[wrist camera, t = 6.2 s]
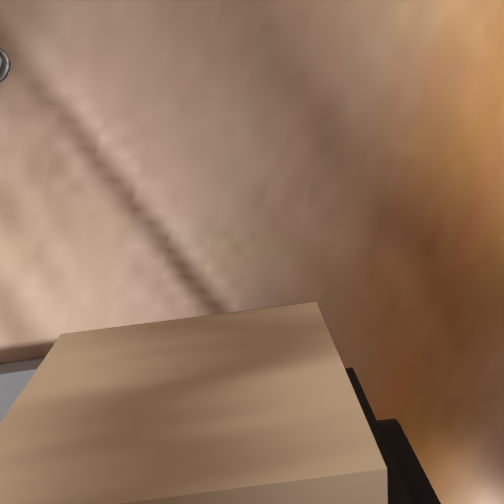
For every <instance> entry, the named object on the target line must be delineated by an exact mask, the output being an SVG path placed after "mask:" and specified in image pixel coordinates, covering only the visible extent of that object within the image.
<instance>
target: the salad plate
mask: <svg viewBox="0 0 504 504" xmlns="http://www.w3.org/2000/svg"><path fill="white" fill-rule="evenodd" d="M9 70H10V59H9V57H8V55H7V54H6V52H5V51H4V50H3V49H2V48H1V47H0V83H1V82H2V81H3V80H4V79H5V78H6V77H7V75H8V72H9Z"/></svg>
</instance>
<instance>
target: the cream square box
mask: <svg viewBox="0 0 504 504" xmlns="http://www.w3.org/2000/svg"><path fill="white" fill-rule="evenodd" d="M0 504H388V489H387V467H386V465H385V462H384V460H383V458H382V455H381V453H380V451H379V448H378V446H377V444H376V441H375V439H374V436H373V434H372V432H371V429H370V427H369V425H368V422H367V420H366V418H365V415H364V413H363V410H362V408H361V406H360V403H359V401H358V399H357V396H356V394H355V392H354V389H353V387H352V384H351V382H350V380H349V377H348V375H347V373H346V370H345V368H344V366H343V363H342V361H341V359H340V356H339V354H338V351H337V349H336V347H335V344H334V342H333V340H332V337H331V335H330V333H329V330H328V328H327V325H326V323H325V321H324V318H323V316H322V314H321V311H320V309H319V307H318V304H317V302H310V303H302V304H294V305H286V306H278V307H270V308H263V309H255V310H247V311H239V312H231V313H223V314H215V315H208V316H200V317H192V318H184V319H176V320H168V321H160V322H152V323H145V324H137V325H129V326H121V327H113V328H105V329H97V330H89V331H82V332H74V333H66V334H61V335H60V336H59V338H58V339H57V341H56V342H55V344H54V345H53V347H52V348H51V350H50V351H49V352H48V354H47V355H46V357H45V358H44V360H43V361H42V363H41V364H40V366H39V367H38V368H37V370H36V371H35V373H34V374H33V376H32V377H31V379H30V380H29V382H28V383H27V384H26V386H25V387H24V389H23V390H22V392H21V393H20V395H19V396H18V398H17V399H16V400H15V402H14V403H13V405H12V406H11V408H10V409H9V411H8V412H7V413H6V415H5V416H4V418H3V419H2V421H1V422H0Z"/></svg>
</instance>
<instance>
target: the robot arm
mask: <svg viewBox="0 0 504 504" xmlns="http://www.w3.org/2000/svg"><path fill="white" fill-rule="evenodd" d="M345 370H346V373H347V375H348V377H349V380H350V382H351V384H352V387H353V389H354V392H355V394H356V396H357V399H358V401H359V403H360V406H361V408H362V410H363V413H364V415H365V418H366V420H367V422H368V425H369V427H370V429H371V432H372V434H373V436H374V439H375V441H376V444H377V446H378V448H379V451H380V453H381V455H382V458H383V460H384V462H385V465H386V467H387V489H388V504H441V503H440V502H439V500H438V498H437V496H436V494H435V492H434V490H433V488H432V486H431V484H430V482H429V480H428V478H427V476H426V474H425V472H424V471H423V469H422V467H421V465H420V463H419V461H418V459H417V457H416V455H415V453H414V451H413V449H412V447H411V445H410V443H409V441H408V440H407V438H406V436H405V434H404V432H403V430H402V428H401V426H400V424H399V423H398V421H397V420H396V419H388V420H380V421H376V418H375V416H374V414H373V412H372V409H371V407H370V405H369V403H368V401H367V398H366V396H365V394H364V392H363V390H362V387H361V385H360V383H359V381H358V378H357V376H356V374H355V372H354V370H353V368H345Z"/></svg>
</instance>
